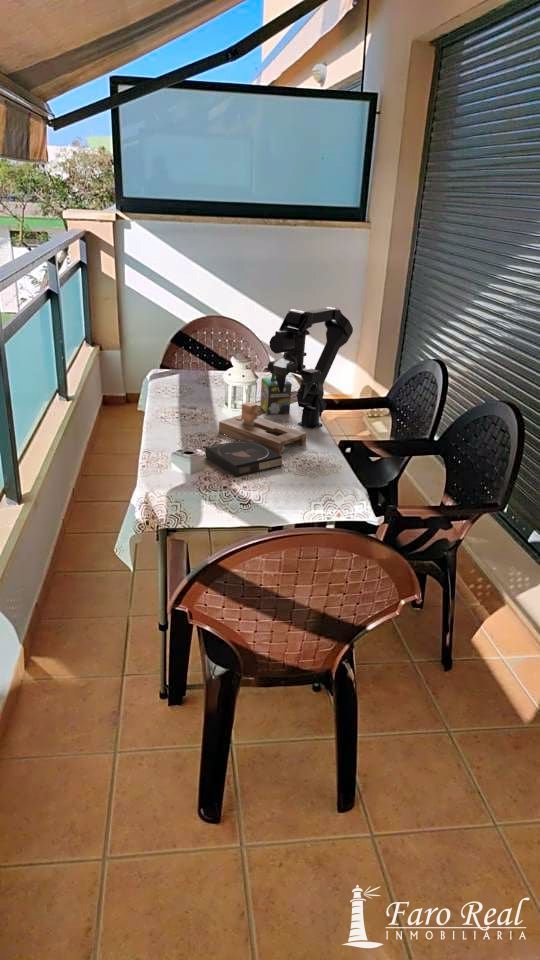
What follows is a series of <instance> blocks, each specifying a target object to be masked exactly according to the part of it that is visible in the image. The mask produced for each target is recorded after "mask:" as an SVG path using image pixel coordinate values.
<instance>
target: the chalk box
mask: <svg viewBox="0 0 540 960" xmlns="http://www.w3.org/2000/svg"><path fill="white" fill-rule="evenodd" d="M260 383H261V384H260V409H262V410H263V411H264V412H265V413H266V415H278V414H279V415H280V414H281V415H282V414H290V410H291V409H290V408H291V399H292V398H291V397H292V387H293V386H292V385H293V384H292V383H291V382H290V381H289V380H288V379H286V380H285V385H284V390H283V392H282V393H280V391H279V387H278V384H277V380H276V378H275V376H274V375H273V374H272V373H271V377H263V378H261V382H260Z"/></svg>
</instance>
